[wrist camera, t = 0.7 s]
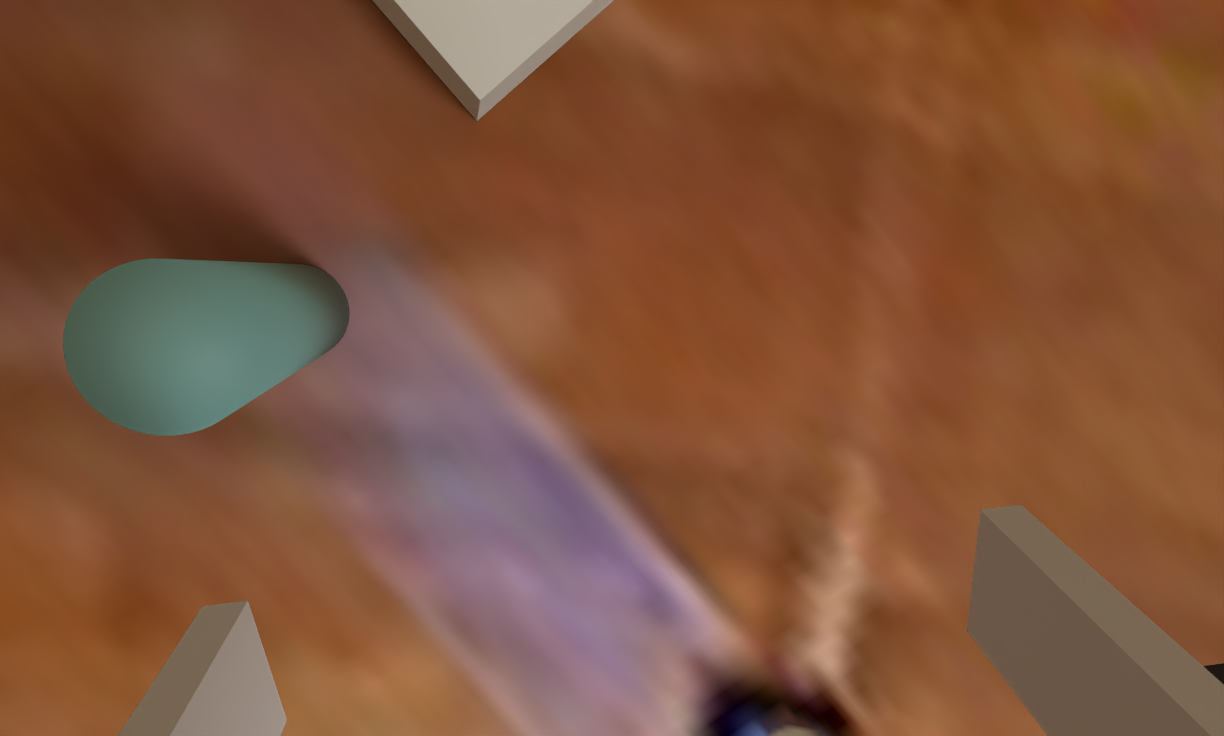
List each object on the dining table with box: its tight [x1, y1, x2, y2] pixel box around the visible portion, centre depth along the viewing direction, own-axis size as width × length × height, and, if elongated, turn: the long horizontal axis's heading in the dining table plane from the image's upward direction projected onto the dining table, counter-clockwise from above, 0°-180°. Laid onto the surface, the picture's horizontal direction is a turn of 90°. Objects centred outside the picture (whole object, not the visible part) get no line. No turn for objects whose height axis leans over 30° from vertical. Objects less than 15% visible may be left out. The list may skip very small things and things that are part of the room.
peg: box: [63, 259, 349, 436], centre depth 24 cm, size 4×4×15 cm
